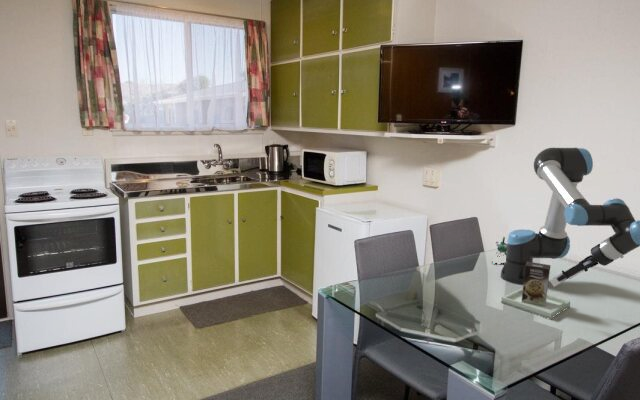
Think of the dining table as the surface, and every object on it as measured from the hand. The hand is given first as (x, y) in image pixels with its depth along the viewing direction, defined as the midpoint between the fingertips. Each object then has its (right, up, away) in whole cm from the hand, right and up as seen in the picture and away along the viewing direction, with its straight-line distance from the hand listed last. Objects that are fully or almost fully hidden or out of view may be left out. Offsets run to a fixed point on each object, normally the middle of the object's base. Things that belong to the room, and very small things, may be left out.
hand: (560, 279), depth 181 cm
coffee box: (-6, -11, +10) cm, 16 cm away
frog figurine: (+3, -2, +65) cm, 65 cm away
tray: (-5, -12, +9) cm, 16 cm away
